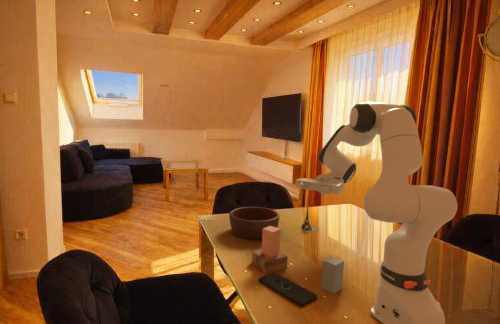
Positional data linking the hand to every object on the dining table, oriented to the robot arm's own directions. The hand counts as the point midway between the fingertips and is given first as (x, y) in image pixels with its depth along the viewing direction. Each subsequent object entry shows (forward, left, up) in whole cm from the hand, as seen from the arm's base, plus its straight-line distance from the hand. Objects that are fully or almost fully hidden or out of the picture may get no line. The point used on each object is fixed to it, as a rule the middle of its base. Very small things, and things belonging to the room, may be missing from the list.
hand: (310, 188), depth 132 cm
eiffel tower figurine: (+31, -13, -30) cm, 45 cm away
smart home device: (-26, +18, -30) cm, 43 cm away
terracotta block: (-7, +19, -24) cm, 31 cm away
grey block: (-27, +3, -29) cm, 40 cm away
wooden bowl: (+29, +17, -29) cm, 44 cm away
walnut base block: (-7, +19, -29) cm, 35 cm away
